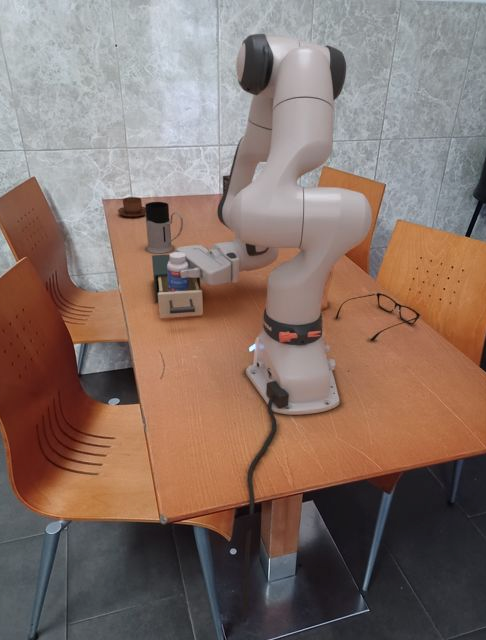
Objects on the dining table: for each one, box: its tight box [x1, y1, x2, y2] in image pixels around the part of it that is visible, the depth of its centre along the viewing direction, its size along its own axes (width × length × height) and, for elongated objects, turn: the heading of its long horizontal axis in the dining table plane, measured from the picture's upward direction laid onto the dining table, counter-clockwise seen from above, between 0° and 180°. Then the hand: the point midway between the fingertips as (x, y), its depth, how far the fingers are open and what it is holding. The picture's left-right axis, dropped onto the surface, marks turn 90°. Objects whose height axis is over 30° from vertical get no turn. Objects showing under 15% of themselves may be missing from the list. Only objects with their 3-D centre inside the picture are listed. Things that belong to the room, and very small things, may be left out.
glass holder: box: [144, 201, 184, 254], centre depth 166 cm, size 9×14×15 cm, turn 62°
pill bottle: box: [167, 251, 189, 292], centre depth 128 cm, size 6×5×10 cm
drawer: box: [157, 276, 204, 319], centre depth 129 cm, size 19×11×7 cm, turn 11°
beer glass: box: [321, 266, 335, 310], centre depth 133 cm, size 7×7×15 cm
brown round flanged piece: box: [117, 196, 146, 218], centre depth 202 cm, size 12×12×6 cm
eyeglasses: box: [335, 292, 421, 341], centre depth 128 cm, size 16×16×4 cm
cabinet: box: [151, 253, 201, 303], centre depth 141 cm, size 14×12×8 cm
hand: (174, 269), depth 127 cm, fingers closed on pill bottle, 5 cm apart
